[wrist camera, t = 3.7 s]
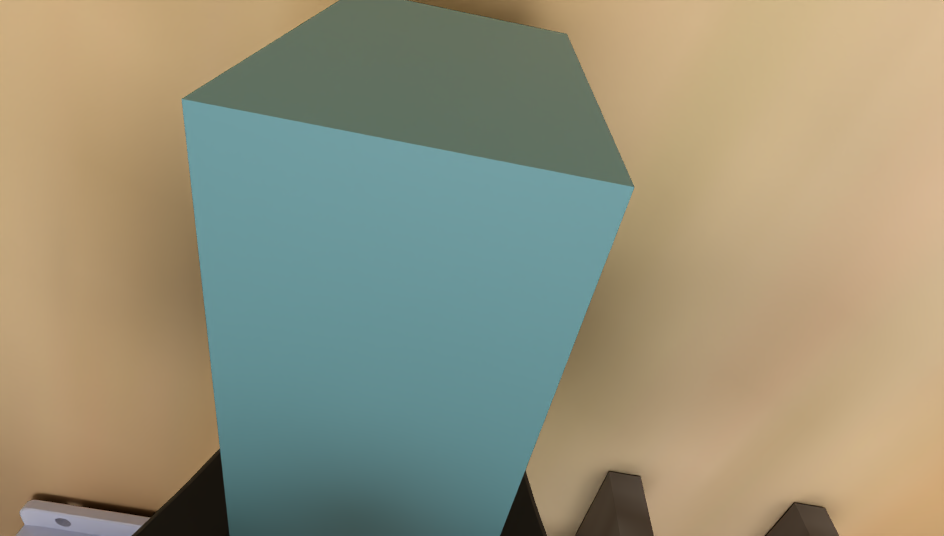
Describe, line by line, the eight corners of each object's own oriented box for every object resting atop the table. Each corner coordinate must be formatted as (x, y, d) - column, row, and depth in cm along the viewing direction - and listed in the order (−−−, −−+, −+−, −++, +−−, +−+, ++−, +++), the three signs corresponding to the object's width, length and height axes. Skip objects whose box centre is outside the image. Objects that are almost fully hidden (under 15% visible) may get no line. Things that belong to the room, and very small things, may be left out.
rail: (318, 548, 16) (251, 781, 12) (349, -13, 8) (165, 95, 4) (429, 565, 16) (402, 800, 12) (573, 35, 8) (648, 190, 4)
